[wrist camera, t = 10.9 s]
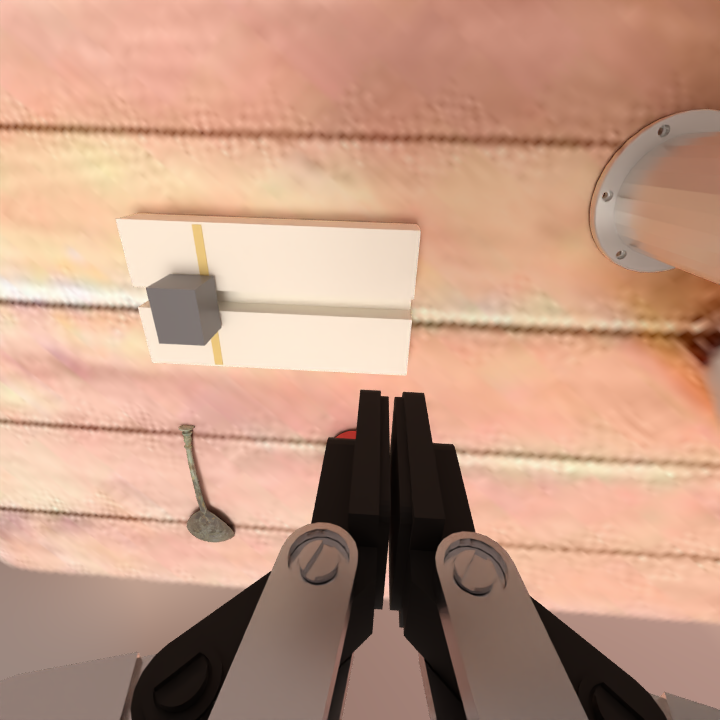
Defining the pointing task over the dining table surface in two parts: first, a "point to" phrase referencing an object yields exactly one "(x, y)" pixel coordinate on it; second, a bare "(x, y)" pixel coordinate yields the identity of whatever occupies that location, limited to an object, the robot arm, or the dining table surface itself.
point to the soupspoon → (203, 504)
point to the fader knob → (184, 309)
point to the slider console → (285, 289)
